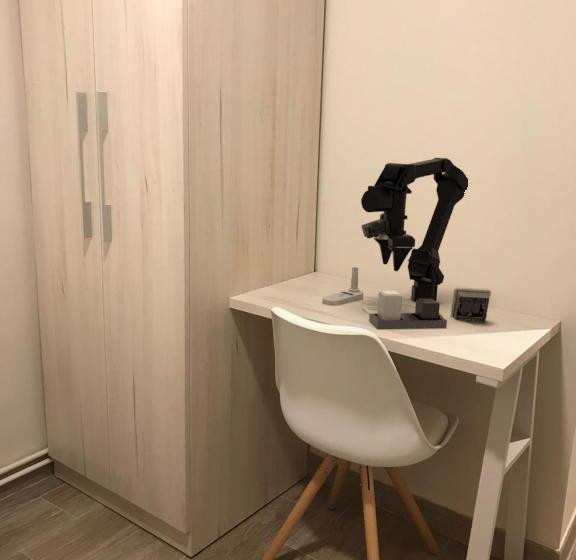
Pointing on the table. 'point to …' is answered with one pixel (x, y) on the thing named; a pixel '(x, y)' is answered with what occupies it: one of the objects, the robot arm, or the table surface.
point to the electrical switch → (470, 304)
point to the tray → (370, 309)
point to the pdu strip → (414, 317)
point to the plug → (389, 306)
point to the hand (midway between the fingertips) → (390, 267)
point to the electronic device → (345, 293)
